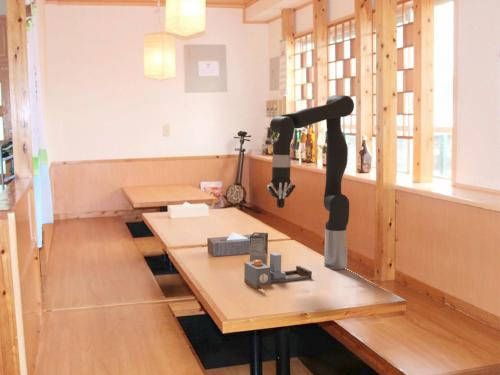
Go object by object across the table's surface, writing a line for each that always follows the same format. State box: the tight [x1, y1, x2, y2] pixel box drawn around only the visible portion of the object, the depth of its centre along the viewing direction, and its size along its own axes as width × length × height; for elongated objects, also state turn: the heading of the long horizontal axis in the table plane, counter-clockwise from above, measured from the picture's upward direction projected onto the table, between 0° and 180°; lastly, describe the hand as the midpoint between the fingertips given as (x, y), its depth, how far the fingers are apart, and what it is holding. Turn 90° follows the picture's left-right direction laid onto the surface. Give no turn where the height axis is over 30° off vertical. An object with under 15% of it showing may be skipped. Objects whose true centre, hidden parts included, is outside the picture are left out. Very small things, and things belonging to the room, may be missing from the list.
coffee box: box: [249, 231, 269, 266], centre depth 276 cm, size 9×6×16 cm
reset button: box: [253, 260, 262, 267], centre depth 255 cm, size 3×3×3 cm
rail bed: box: [243, 265, 313, 290], centre depth 260 cm, size 25×11×4 cm, turn 116°
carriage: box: [269, 252, 286, 280], centre depth 259 cm, size 5×8×10 cm, turn 25°
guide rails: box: [269, 269, 310, 285], centre depth 261 cm, size 18×11×1 cm, turn 116°
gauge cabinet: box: [243, 261, 271, 286], centre depth 255 cm, size 6×11×6 cm, turn 26°
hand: (280, 207), depth 265 cm, fingers closed
